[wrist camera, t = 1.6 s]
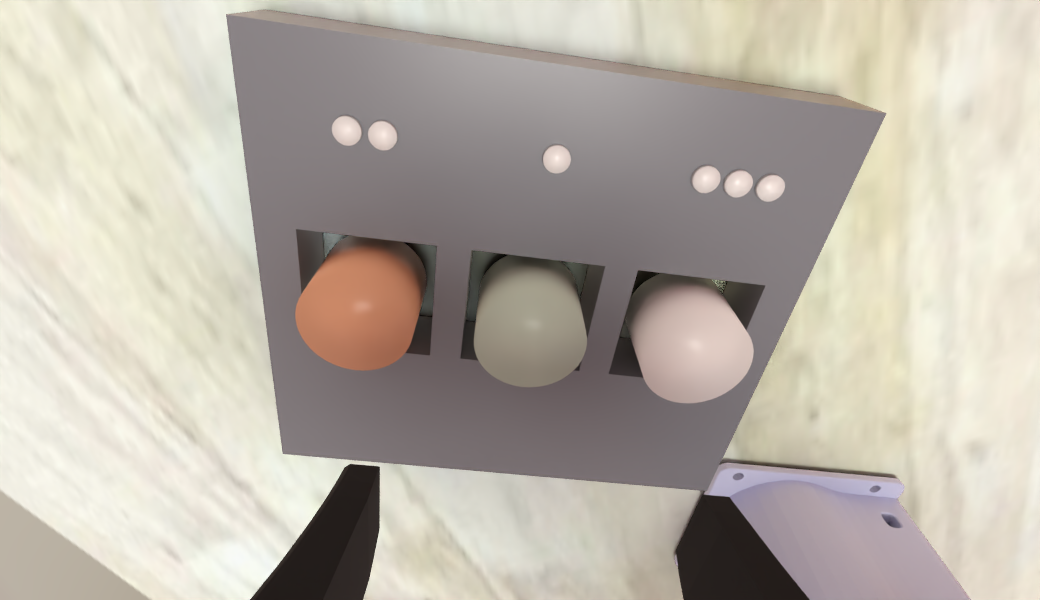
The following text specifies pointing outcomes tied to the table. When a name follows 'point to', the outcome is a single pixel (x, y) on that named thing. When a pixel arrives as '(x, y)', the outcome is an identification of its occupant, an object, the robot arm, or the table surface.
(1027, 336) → the table surface
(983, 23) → the table surface
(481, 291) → the button green
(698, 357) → the button white
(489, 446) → the button panel
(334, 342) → the button terracotta
